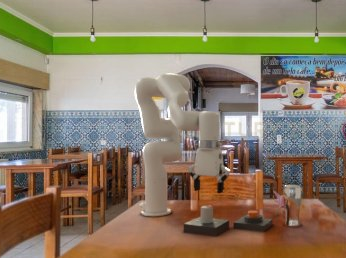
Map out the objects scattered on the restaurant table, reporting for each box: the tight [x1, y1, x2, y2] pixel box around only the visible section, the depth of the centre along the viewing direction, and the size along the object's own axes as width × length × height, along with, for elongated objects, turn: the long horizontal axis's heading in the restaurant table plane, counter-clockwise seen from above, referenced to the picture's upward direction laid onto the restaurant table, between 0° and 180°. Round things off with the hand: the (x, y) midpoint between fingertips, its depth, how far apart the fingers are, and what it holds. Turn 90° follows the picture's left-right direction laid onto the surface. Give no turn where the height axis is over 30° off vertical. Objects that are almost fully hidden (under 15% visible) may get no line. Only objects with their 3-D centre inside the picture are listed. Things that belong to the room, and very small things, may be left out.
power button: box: [247, 210, 260, 218], centre depth 134 cm, size 4×4×2 cm
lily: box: [273, 190, 285, 216], centre depth 153 cm, size 12×12×10 cm
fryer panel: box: [183, 216, 230, 237], centre depth 130 cm, size 13×11×3 cm
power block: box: [233, 213, 273, 233], centre depth 134 cm, size 12×10×4 cm
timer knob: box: [200, 205, 214, 223], centre depth 130 cm, size 4×4×6 cm
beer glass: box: [282, 184, 302, 228], centre depth 136 cm, size 7×7×15 cm
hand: (208, 191), depth 130 cm, fingers open, 9 cm apart
